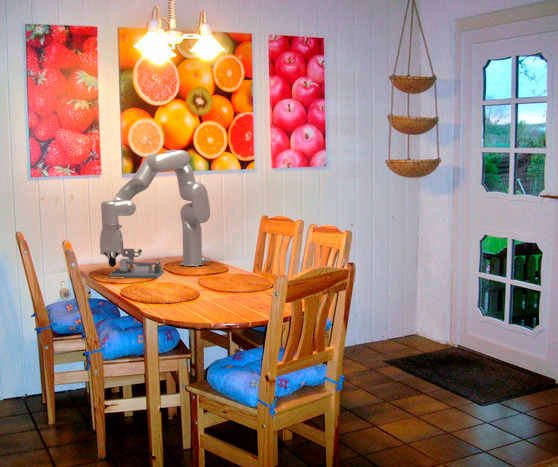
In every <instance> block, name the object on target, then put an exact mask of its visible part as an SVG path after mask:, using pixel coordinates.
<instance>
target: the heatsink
mask: <svg viewBox="0 0 558 467" xmlns="http://www.w3.org/2000/svg"><path fill="white" fill-rule="evenodd" d="M133 269H134V274H149V273H150V272H152V269H153V265H140V264H134V265H133Z"/></svg>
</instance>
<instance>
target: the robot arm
mask: <svg viewBox="0 0 558 467" xmlns="http://www.w3.org/2000/svg"><path fill="white" fill-rule="evenodd" d="M190 160H191V157H190V154H189V153H188V152H187V151H186V150H182V149H169V150H165V151H164V152H163V153H152V154H151V153H150V154H149V155H146V157H145V158H144V159H143V161H142V163H141V164H140V166H139V167H138V169H137V171H136V172H135V174H134V175H133V176H132V178H131V179H130V180H128V181H127V183H125V184H124V185H123V186H122V187H121V188H120V189H119V190H118V192H117V193H116V195H115V196H114V198H113V200H108V201H107V200H105V201H103V202H101V204H100V207H101V208H100V210H101V212H100V213H101V228H102V230H101V231H100V235H99V236H100V237H99V249H100V250H99V253H100V255H103V256H105V257H106V258H107V259H108V266H109V268H114V267H115V266H116V265H117V261H116V260H117V257H118V256H119V255H122V254H123V249H124V238H123V234H122V233H123V232H122V230H121V229H122V228H123V225H121V224H120V223H119V222H120V221H119V216H121V217H130V216H132V215H133V214H135V213H136V210H137V207H136V204H135V203H134V201H132V199H133V198H134V197H135V196H136V195H138V194H139V193H142V192H144V191H146V190H147V189H148V188H149V187H150V185H151V184H152V182H153V181H154V179H155V177H156V176H157V174H158V173H164V172H169V171H174V173H175V176H176V180H177V184H178V192H179V195H180V198H181V199H182V200H184V201H188V203H185V204H183V205H182V207H181V208H180V220H181V227H182V229H181V230H182V261H180V263H179V265H180V264H181V265H186V266H196V267H200V266H199V265H203V266H205V265H206V262H207V263H211V257H204V255H202V254H203V252H202V251H203V250H202V243H203V242H202V227H201V224H204V223H206V222H208V221H209V219H210V218H211V208H210V207H211V206H210V201H209V194H208V190H207V188H206V186H205V185H204V184H203V183H201V182H196V178H195V175H194V174H195V173H194V170H193V169H194V168H192V166H191V164H190ZM204 264H205V265H204ZM181 265H180V266H181ZM186 266H185V267H186Z"/></svg>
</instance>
